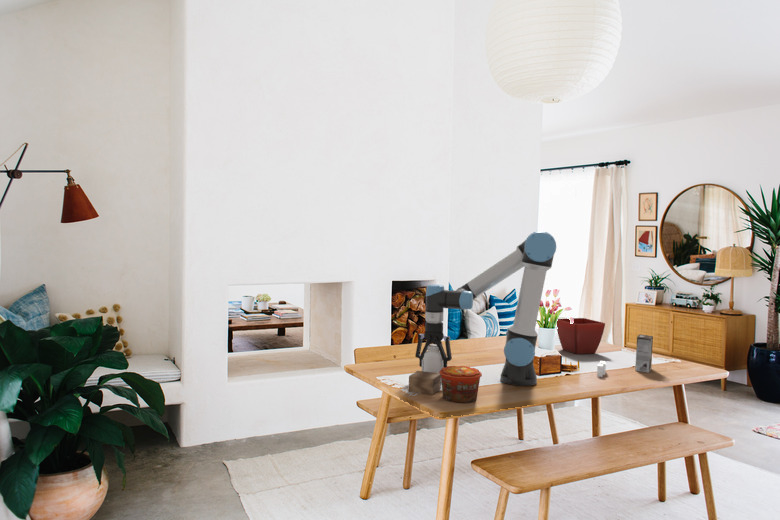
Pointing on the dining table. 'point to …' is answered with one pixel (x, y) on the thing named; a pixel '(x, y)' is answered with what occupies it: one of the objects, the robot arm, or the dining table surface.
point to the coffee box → (644, 353)
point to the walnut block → (424, 382)
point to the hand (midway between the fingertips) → (433, 375)
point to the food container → (460, 383)
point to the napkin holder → (601, 368)
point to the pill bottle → (432, 359)
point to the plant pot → (580, 335)
